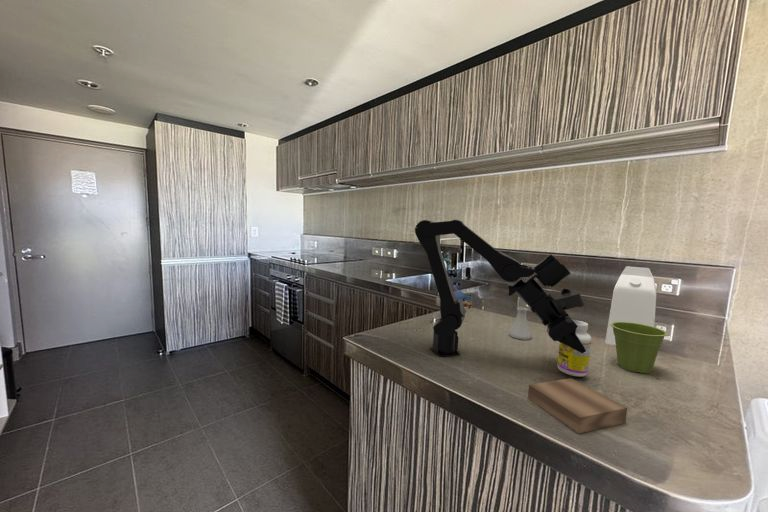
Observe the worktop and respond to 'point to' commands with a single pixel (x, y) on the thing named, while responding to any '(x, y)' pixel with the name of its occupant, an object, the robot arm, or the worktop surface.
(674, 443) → the worktop surface
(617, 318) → the milk
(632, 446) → the worktop surface
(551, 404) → the walnut base block
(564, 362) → the supplement bottle
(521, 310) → the flask
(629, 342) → the plant pot
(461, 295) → the model
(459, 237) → the robot arm
